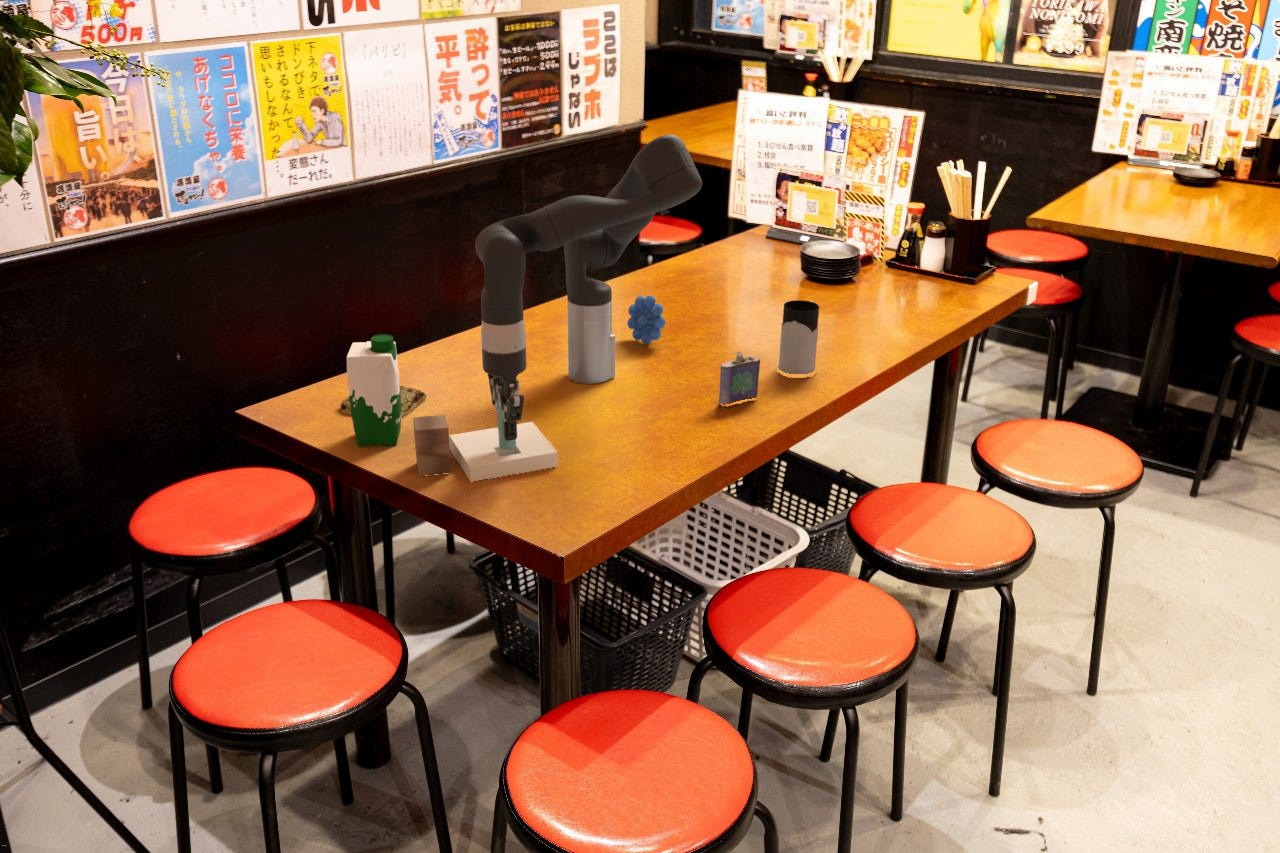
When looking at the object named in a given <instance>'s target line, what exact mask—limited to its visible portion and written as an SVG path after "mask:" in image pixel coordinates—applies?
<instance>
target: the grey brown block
mask: <svg viewBox="0 0 1280 853" xmlns="http://www.w3.org/2000/svg"><path fill="white" fill-rule="evenodd" d="M412 421H413V433H414V444H415V445H414V447H415V460H416V467H418V468H417V471H418V472H419V473H418V472H417V473H418V477H419V476H424V477H426V476H425V475H434V474H443V473H451V474H452V462H451V451H450V441H449V435H450V432H449V425H448V421H447V416H446V414H439V415H428V416H427V415H426V416H415V417H412ZM434 476H435V475H434Z"/></svg>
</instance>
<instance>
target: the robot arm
mask: <svg viewBox="0 0 1280 853" xmlns="http://www.w3.org/2000/svg"><path fill="white" fill-rule="evenodd" d="M702 187H703V180H702V177H701V175H700V174H699V171H698V169H697V167H696V165H695V162H694V161H693V159H692V156H691V154H690V152H689V150H688V148H687V146H686V144H685V142H684V141H683V140H682V139H681V138H680V137H679V136H677V135H675V134H663V135H660V136H658V137H656V138H654V139H652V140H651V141H649V142H648V143H647V144H645V145H644V146H643V147H642V148H641V149H640V150H639V151H638V153H636V155H635V157H634V158H633V160H632V162H631V163H630V165H629V167H628V168H627V170H626V172H625V174H624V175H623V177H622V178H621V179H620V180H619V182H618V183H617V184H616V185H615V186H614V187H613V188H612V189H611V190H610V191H609V192H608V194H607V195H606V196H605V197H601V196H595V195H586V194H581V195H580V194H578V195H577V194H576V195H571V196H567V197H564V198H561V199H559V200H556V201H555V202H552V203H550V204H548V205H546V206H544V207H541V208H539V209H536V210H534V211H533V212H530V213H526V214H521V215H517V216H513V217H509V218H507V219H506V218H505V219H503V220H498V221H497V222H494V223H492V224H489V225H488V226H486V227H485V228H484V229H482V230H481V231H480V232H479V234H478V235H477V237H476V238H475V243H474V249H475V252H476V253H475V254H476V255H477V257H478V260H480V261H481V262H482V263H483V272H484V287H483V288H482V290H481V294H480V303H481V304H480V305H481V306H480V308H481V309H480V310H481V330H480V335H481V336H480V340H481V356H482V358H481V360H482V361H481V362H482V369H483V371H484V372H485V373H486V374H487V378H488V384H489V389H490V396H491V403H492V405H493V406H494V407H495V408H494V410H495V411H496V413H497V398H498V401H499V407H500V408H501V409H502V414H503V426H504V438H505V440H506V441H509V440H515V439H516V438H517V424H518V422H520V421H522V416H523V410H524V403H525V396H524V394H523V393H522V394H520V389H521V387H520V386H521V385H520V381H519V380H518V379H517V376H519V375H520V374H522V373H523V372H524V371H526V369H527V367H528V366H527V345H526V344H527V341H526V340H527V338H526V327H525V321H524V300H523V290H524V283H525V274H526V254H529V253H532V252H534V251H541V252H550V251H554V250H556V249H558V248H560V247H563V248H564V249H563V251H564V263H565V283H566V291H567V292H566V293H567V294H566V295H567V297H566V298H567V301H566V302H567V355H568V356H567V357H568V358H567V359H568V360H567V361H568V365H567V366H568V367H567V368H568V369H567V370H568V378H569V379H570V380H571V381H573V382H575V383H578V384H587V385H588V384H594V385H595V384H601V383H605V382H607V381H609V380H610V379H614V378H616V335H615V334H613V332H612V331H613V330H612V329H613V328H612V325H613V324H612V322H613V320H612V318H613V317H612V316H613V314H612V313H613V312H612V310H613V308H612V306H613V304H612V303H613V302H612V299H613V293H612V290H613V289H612V287H611V286H610V285H609V284H608V283H607V282H605V281H603V280H598V279H595V278H590V277H589V276H587V272H586V270H589V269H590V270H591V269H592V270H593V269H599V268H607V267H610V266H613V265H614V264H616V263H617V261H619V259H620V257H621V256H622V254H623V253H624V251H625V250H626V249H627V247H628V245H629V244H630V243H631V242H633V241H632V240H634V238H635V237H636V236H637V235H639V234H640V233H641V232H642V231H643V230H644V229H645V228H646V227H647V226H648V225H649V224H651V221H652V220H653V217H654V216H655V214H656V213H659V212H663V211H665V210H668V209H671V208H674V207H676V206H679V205H681V204H683V203H684V202H686V201H688V200H690V199H691V198H693V197H694V196H696V195H697V194H698V193H699V191H700V190H701V189H702ZM503 402H508V403H507V404H504V403H503ZM496 417H497V419H498V416H496Z"/></svg>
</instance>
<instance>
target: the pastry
mask: <svg viewBox="0 0 1280 853" xmlns="http://www.w3.org/2000/svg"><path fill="white" fill-rule="evenodd" d="M400 395H401V409H402V414H401V418H402V419H403V418H405V417H407V416H409V415H410V414H412V413H413V411H414V410H416V409H417V407H419V406H418V405H419V404H420V405H421V404H423V403H424V402H425V401H426V399H427V394H426V393H425V392H423V391H422V390H419V389H416V388H414V387H409V386H408V387H407V386H403V385H400ZM423 401H424V402H423ZM422 402H423V403H422ZM339 407H340V410H339V411H340V413H341V415H342V414H343V415H347V416H351V407H350V397H349V396H347V397H346V398H345V399H343V400H342V401H341V403H340V406H339ZM409 413H410V414H409ZM408 414H409V415H408ZM406 415H407V416H406ZM404 416H405V417H404Z"/></svg>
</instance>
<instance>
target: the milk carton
mask: <svg viewBox="0 0 1280 853" xmlns="http://www.w3.org/2000/svg"><path fill="white" fill-rule="evenodd" d="M396 344H397V343H396V341H394V336H393V335H391V334H386V333H384V334H383V333H382V334H381V333H380V334H375V335H373V336H372V337H370V340H369V341H368V340H367V341H366V342H364V341H363V342H361V341H360V342H358V341H357V342H354V341H353V342H352V344H351V346H350V348H349V351H348V353H347V356H346V376H347V378H346V379H347V387H348V397H350V407H351V415H350V416H351V421H352V422H351V423H352V426H353V430H354V431H353V432H354V434H355V441H356V444H357V447H379V446H378V445H389V446H390V445H391V446H397V445H398V440H399V436H400V432H401V427H402V426H401V425H402V419H401V414H402V409H401V395H400V386H401V385H400V374H399V365H398V364H399V362H398V354H397V345H396Z"/></svg>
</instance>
